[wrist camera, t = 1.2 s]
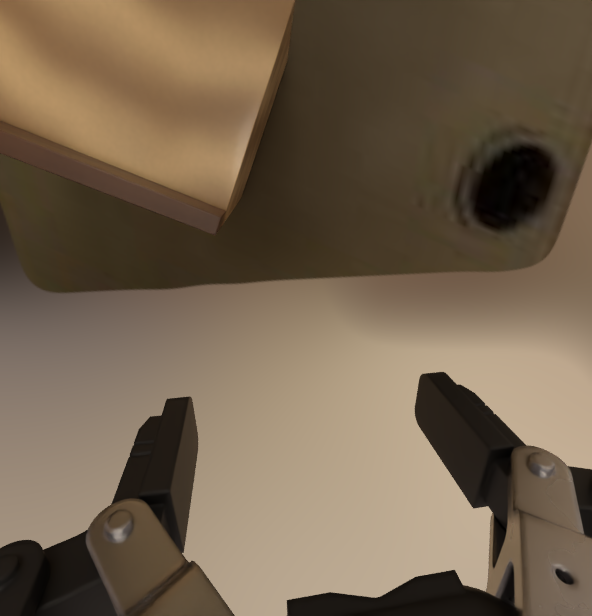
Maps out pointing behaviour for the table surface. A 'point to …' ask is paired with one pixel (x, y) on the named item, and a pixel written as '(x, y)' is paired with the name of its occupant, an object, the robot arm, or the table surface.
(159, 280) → the table surface
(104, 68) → the block
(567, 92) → the table surface
